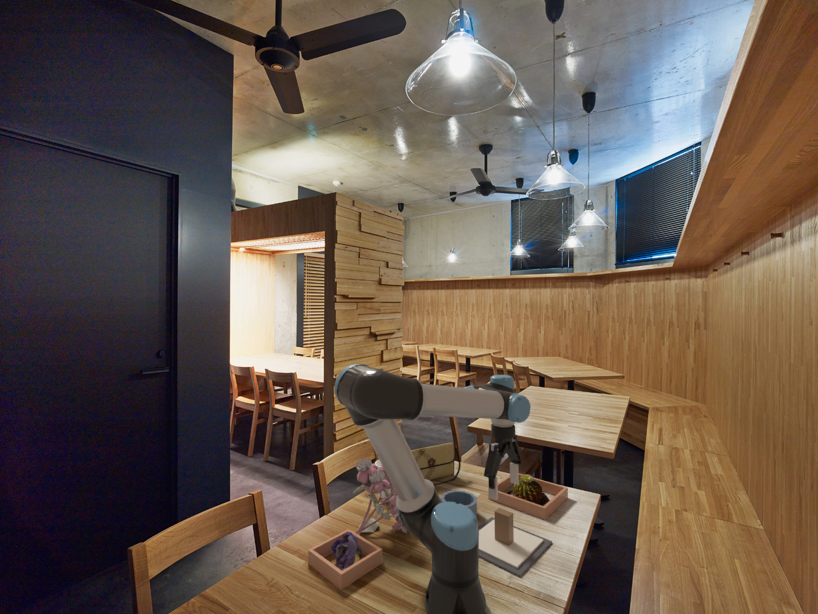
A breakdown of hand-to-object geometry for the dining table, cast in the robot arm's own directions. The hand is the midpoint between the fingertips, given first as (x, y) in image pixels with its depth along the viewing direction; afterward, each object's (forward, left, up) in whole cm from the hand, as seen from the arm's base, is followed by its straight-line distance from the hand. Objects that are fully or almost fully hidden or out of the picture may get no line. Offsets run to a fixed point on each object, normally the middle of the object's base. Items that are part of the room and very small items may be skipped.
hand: (504, 490), depth 122 cm
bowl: (+5, +21, -17) cm, 27 cm away
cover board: (0, 0, -16) cm, 16 cm away
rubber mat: (0, 0, -17) cm, 17 cm away
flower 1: (-39, +30, -17) cm, 52 cm away
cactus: (+33, +8, -17) cm, 38 cm away
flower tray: (-40, +30, -17) cm, 53 cm away
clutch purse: (+20, +46, -17) cm, 53 cm away
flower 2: (-19, +33, -17) cm, 42 cm away
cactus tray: (+34, +8, -17) cm, 39 cm away
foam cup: (-2, +52, -17) cm, 55 cm away
